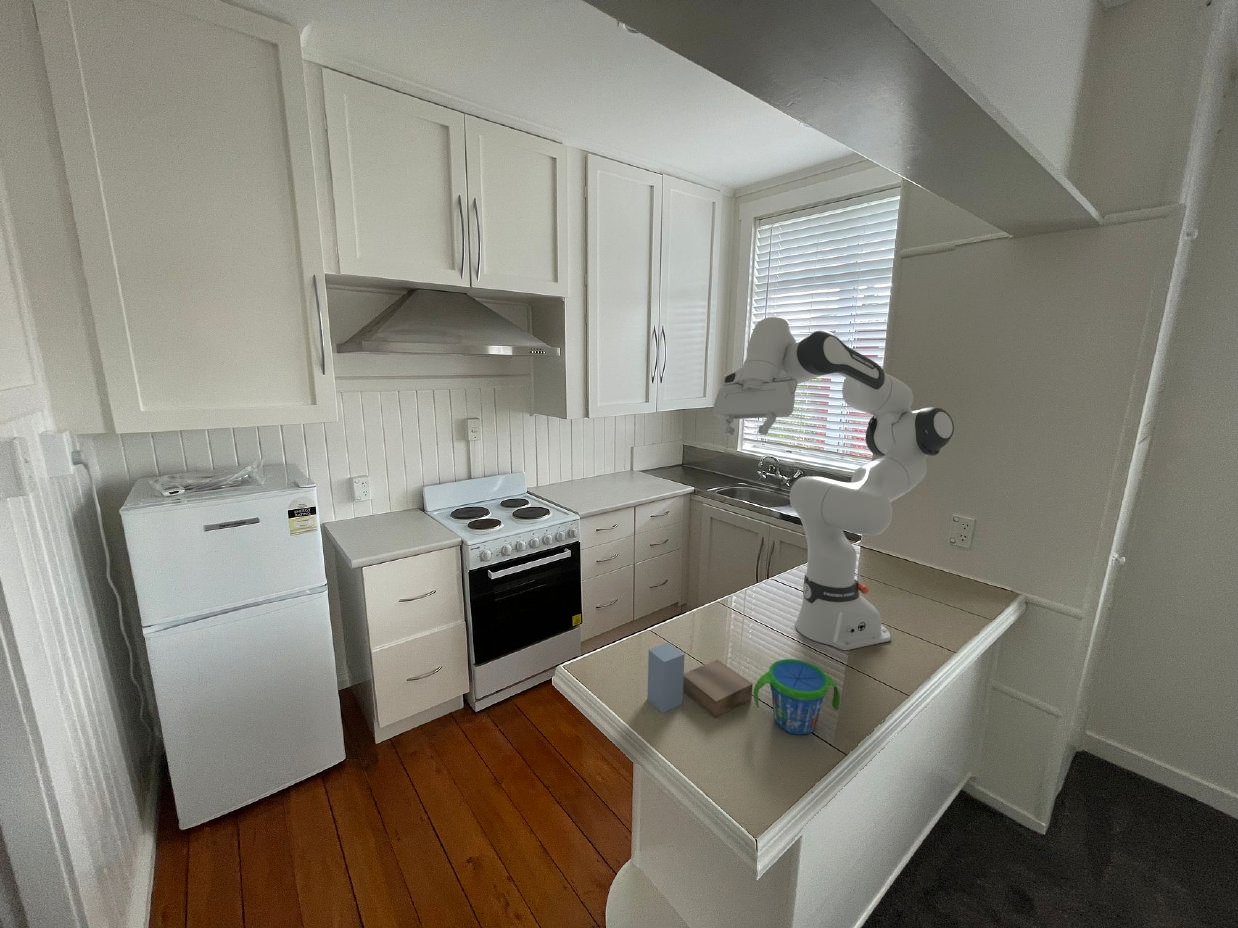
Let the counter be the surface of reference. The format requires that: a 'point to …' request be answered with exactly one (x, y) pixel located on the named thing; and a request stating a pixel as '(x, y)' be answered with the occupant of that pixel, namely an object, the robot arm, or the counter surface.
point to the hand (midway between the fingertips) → (744, 434)
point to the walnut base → (717, 688)
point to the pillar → (665, 677)
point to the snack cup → (797, 694)
